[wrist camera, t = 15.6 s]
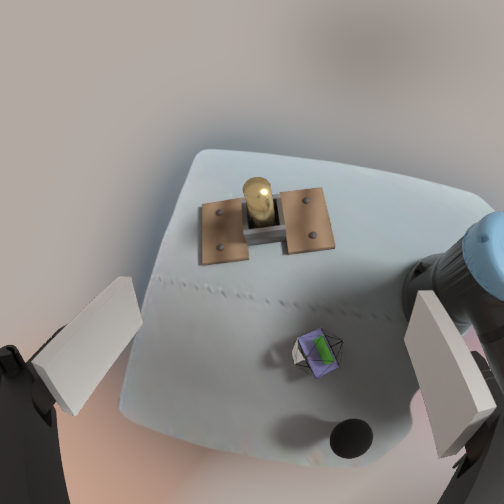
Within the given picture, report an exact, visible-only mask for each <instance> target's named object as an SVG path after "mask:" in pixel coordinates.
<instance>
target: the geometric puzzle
mask: <svg viewBox="0 0 504 504" xmlns="http://www.w3.org/2000/svg"><path fill="white" fill-rule="evenodd" d="M325 331H326V330H325ZM332 335H333V334H332ZM328 337H329V336H328ZM331 338H333V337H331ZM337 338H338V337H337ZM335 339H336V338H335ZM338 340H340V338H339V339H338ZM298 341H299V342H300V343H299V344H301V346H302V349H303V351H304V353H305V355H306V358H307V359H308V362H309V364H310V366H311V367H309V368H310V369H311V368H312V370H313V372H314V373H313V374H315V375H314V376H315V377H316V379H318V378H320V377H321V376H323V375H325V374H327V373H329V372H331V371H333V370H335V369H337V368H338V367H340V366H339V364H338V362H337V359H336V358H337V357H335V355H334V352H332V351H333V350H331V349H332V348H331V347H332V346H331V345H330V344H328V343H329V342H328V340H327V338H326V335H325V334H324V332H323V330H322V328H321V327H320V328H319V329H317V330H315V331H312V332H310V333H308V334H305V335H303V336H301V337H299V338H298V337H297V340H296V343H295V345H294V348H293V350H292V355H293V359H294V363H295V364H294V365H296V366H297V363H299V362H301V361H304V360H305V361H306V360H307V359H306V358H304V357H303V356H304V355H303V356H302V354H301V352H302V351H301V352H300V351H299V349H298ZM342 341H344V340H342ZM342 341H341V342H342ZM339 343H340V342H339ZM342 343H343V342H342ZM337 344H338V343H337ZM329 345H330V346H329ZM335 345H336V344H335ZM301 346H300V347H301ZM333 346H334V345H333ZM341 346H342V345H341ZM342 347H343V346H342ZM340 348H341V347H340ZM302 349H301V350H302ZM339 351H340V350H339ZM302 353H303V352H302ZM338 353H339V352H338ZM341 354H342V353H341ZM337 356H338V355H337ZM340 361H341V360H340ZM306 363H307V362H306ZM307 364H308V363H307ZM300 366H302V365H300ZM308 366H309V365H308ZM305 367H307V366H305ZM299 368H300V367H299ZM302 370H303V369H302ZM312 370H311V371H312ZM305 372H306V371H305ZM308 374H309V373H308ZM311 376H312V375H311ZM315 377H314V378H315Z"/></svg>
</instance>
